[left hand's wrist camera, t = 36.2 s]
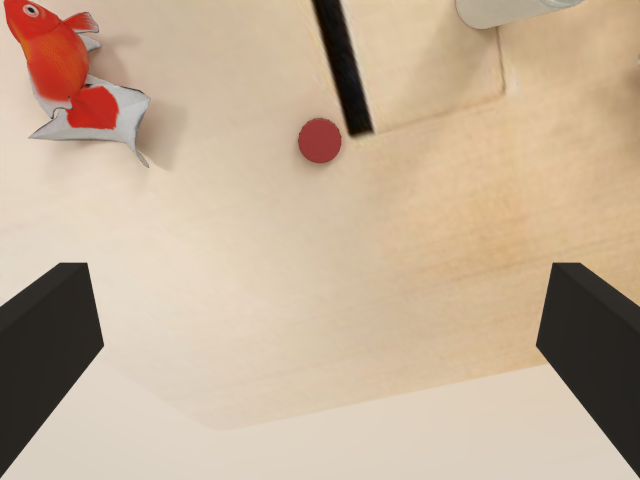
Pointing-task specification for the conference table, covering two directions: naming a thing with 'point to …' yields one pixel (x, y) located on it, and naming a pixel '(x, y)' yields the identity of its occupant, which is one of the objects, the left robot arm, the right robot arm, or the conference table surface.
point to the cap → (319, 140)
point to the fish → (72, 78)
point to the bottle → (506, 10)
